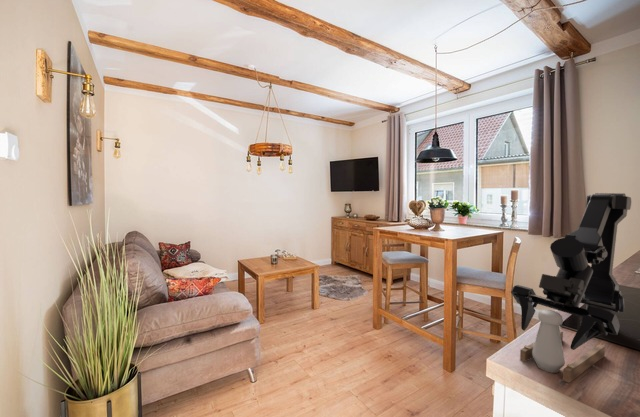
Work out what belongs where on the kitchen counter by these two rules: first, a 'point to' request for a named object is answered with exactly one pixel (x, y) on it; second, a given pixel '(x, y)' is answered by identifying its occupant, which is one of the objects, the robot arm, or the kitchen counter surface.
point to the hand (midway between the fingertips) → (545, 338)
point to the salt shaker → (549, 342)
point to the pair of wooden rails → (573, 368)
